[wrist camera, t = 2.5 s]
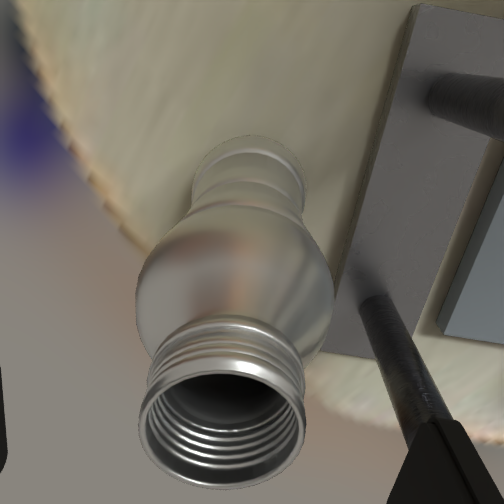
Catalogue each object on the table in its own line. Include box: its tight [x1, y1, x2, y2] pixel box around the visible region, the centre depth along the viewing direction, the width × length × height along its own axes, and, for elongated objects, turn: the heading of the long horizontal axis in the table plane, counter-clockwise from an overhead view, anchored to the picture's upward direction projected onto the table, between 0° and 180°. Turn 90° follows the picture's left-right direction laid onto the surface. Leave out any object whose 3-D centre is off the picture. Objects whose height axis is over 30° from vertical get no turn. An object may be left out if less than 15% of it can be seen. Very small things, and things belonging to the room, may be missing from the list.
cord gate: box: [320, 3, 504, 450], centre depth 19 cm, size 22×6×20 cm, turn 170°
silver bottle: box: [136, 136, 335, 490], centre depth 18 cm, size 6×7×20 cm
